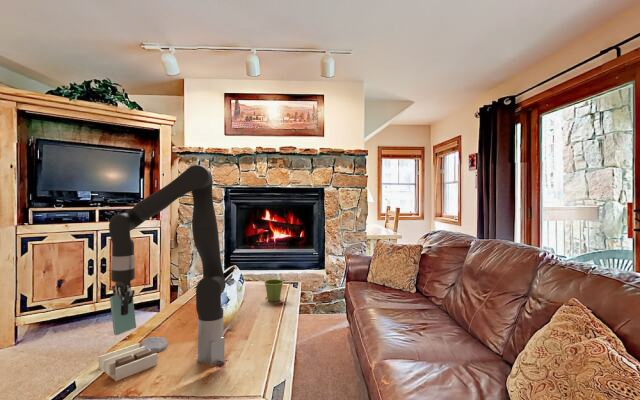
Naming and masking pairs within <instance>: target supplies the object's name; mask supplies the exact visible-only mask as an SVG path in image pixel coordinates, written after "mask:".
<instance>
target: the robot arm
mask: <svg viewBox="0 0 640 400" xmlns="http://www.w3.org/2000/svg"><path fill="white" fill-rule="evenodd" d="M188 193H191V194H192V195H191V196H192V201H193V205H192V206H193V207H192V208H193V209H192V217H191V218H192V219H191V230H192V238H193V243H194V245H195V246H194V247H195V249H196V251H197V253H198V255H199V257H200V260H201V265H202V278H201V279H200V280H199V281H198V282H197V284H196V289H195V308H196V312H197V362H199V363H200V364H202V365H203V364H204V365H210V366H211V365H213V366H212V367H210V369H212V368H215V367H217V366H219V365H221V364H223V363H225V356H226V355H225V353H226V352H225V350H226V349H225V343H226V340H225V337H224V308H223V307H222V294H223V293H224V291H225V288H226V278H225V274H224V270H223V265H222V260H221V250H220V247H221V246H220V240H219V239H220V238H219V236H220V235H219V228H218V222H217V221H218V220H217V217H216V210H215V205H214V199H213V175H212V172H211V171H210V170H209V168H208V167H206V166H203V165H202V164H201V165H200V164H192V165H191V166H189V167H188V168H187V169H185V170H184V171H183V172H182V173H181V174H179V175H178V176H177V177H176V178H175V179H173V180H172V181H171V182H169V183H168V184H167V185H165V186H163V187H162V188H160V189H159V190H156V191H155V192H153V193H152V194H150V195H148V196H147V197H144V198H143V199H141V200H140V201H138V202H137V203H135V204H134V205H133V207H132V208H130V209H128V210H127V211H125V212H123V213H117V214H114V215H113V216H112V217H111V218H110V220H109V224H108V230H109V237H110V241H111V244H112V246H111V248H112V249H111V252H112V253H111V262H110V263H111V265H110V267H111V268H110V269H111V270H110V272H111V273H110V275H111V276H110V280H111V282H112V283H115V285H112V286H111V289H112V294H113V296H115V295H118V294H119V298H120V299H121V315H122V316H123V315H127V314H128V304H130V303H132V299H133V300H134V296H135V292H136V291H135V289H132V285H131V281H133V280H135V278H136V276H135V275H136V273H135V272H136V269H135V268H136V266H135V265H136V264H135V263H136V262H135V260H136V259H135V242H134V240H133V239H132V238H131V231H133V230H135V229H136V228H138V227H139V226H141V225H142V224H143V223H145V221H147V220H148V219H151V218H152V217H154V216H156V215H157V214H159V213H160V212H162V211H164V210H165V209H166V208H167V207H169V206H170V205H171V204H173V202H175V201H176V200H178V199H179V198H181V197H182V196H184V195H186V194H188ZM122 296H123V297H122ZM219 362H220V363H219ZM215 363H218V364H215ZM214 364H215V365H214Z"/></svg>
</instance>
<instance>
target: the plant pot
mask: <svg viewBox="0 0 640 400" xmlns="http://www.w3.org/2000/svg"><path fill="white" fill-rule="evenodd" d="M284 283H285V282H284V280H283V279H282V280H281V279H276V278H274V279H272V278H271V279H267V280H264V283H263V284H264V286H265V290H266V291H265V292H266V297H267V301H268V302H275V303H276V302H278V301H280V300H281V295H282V294H281V293H282V289H283V285H284Z"/></svg>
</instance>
